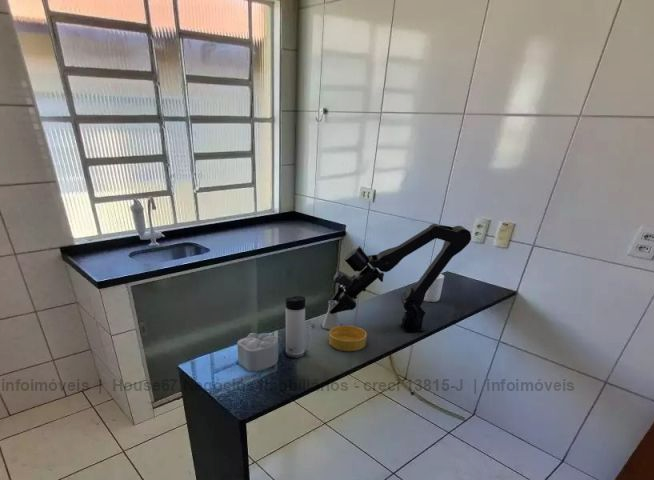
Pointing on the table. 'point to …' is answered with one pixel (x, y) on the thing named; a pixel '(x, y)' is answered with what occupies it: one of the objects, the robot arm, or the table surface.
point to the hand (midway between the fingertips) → (330, 308)
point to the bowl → (347, 338)
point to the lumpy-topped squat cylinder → (258, 351)
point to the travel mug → (295, 326)
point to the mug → (434, 290)
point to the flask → (331, 317)
